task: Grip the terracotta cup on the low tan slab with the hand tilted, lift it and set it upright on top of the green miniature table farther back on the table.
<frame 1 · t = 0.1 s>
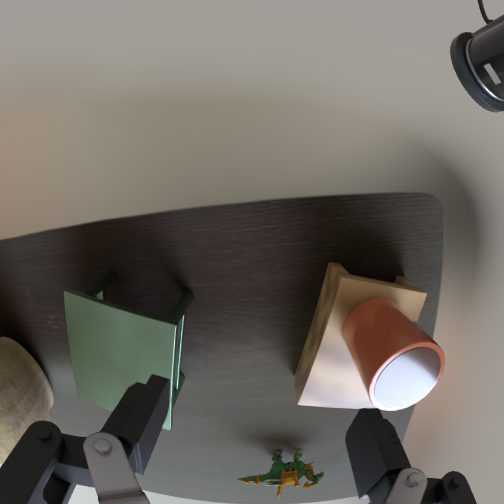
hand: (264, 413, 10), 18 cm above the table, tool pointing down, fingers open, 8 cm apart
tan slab: (349, 330, 29), on the table
green miniature table: (146, 330, 30), on the table
figurine: (280, 453, 34), on the table
vase: (28, 369, 34), on the table
cup: (373, 327, 23), point 5 cm above the table, touching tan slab
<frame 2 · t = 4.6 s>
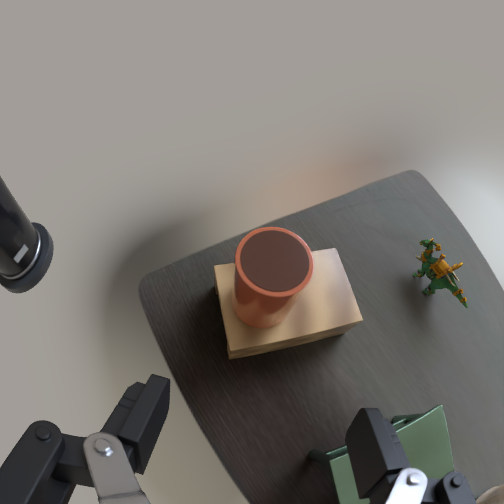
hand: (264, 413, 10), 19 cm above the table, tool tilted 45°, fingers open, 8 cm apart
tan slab: (280, 310, 33), on the table
green miniature table: (365, 469, 23), on the table
figurine: (426, 288, 37), on the table
cup: (261, 299, 28), point 5 cm above the table, touching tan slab
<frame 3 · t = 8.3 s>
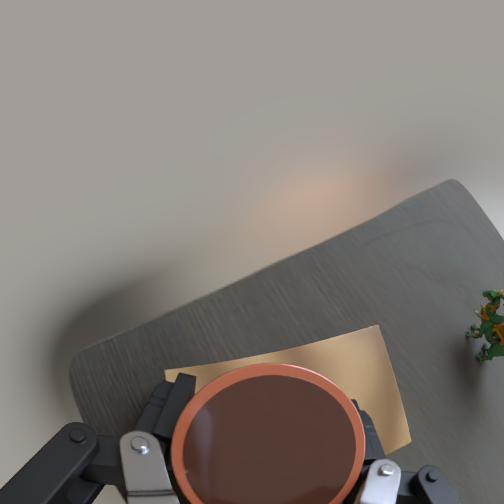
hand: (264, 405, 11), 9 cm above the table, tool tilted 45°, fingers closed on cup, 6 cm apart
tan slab: (282, 418, 18), on the table
figurine: (479, 351, 22), on the table
cup: (248, 433, 13), point 5 cm above the table, touching gripper, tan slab
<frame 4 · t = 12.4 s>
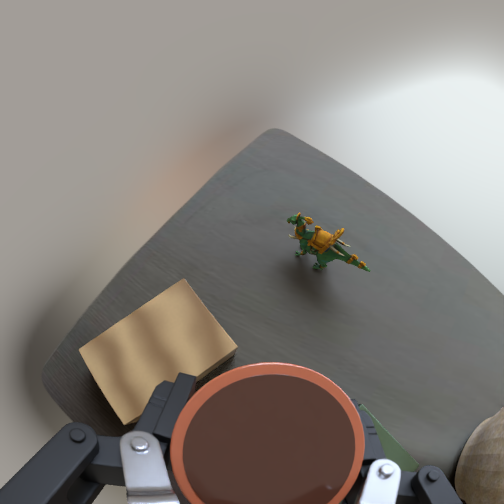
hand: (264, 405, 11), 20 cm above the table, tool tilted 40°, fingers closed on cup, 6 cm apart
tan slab: (162, 357, 30), on the table
green miniature table: (319, 469, 25), on the table
figurine: (317, 262, 38), on the table
vase: (476, 459, 24), on the table
cup: (248, 433, 13), point 16 cm above the table, touching gripper
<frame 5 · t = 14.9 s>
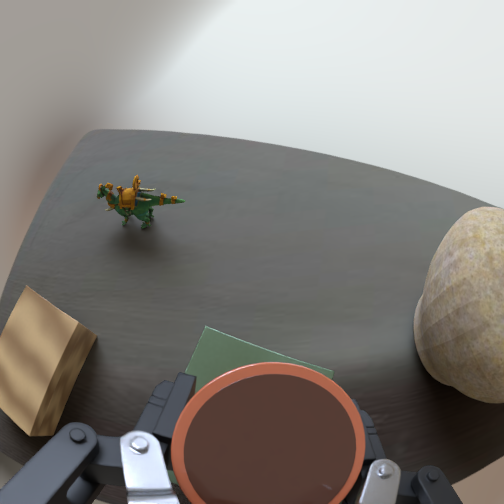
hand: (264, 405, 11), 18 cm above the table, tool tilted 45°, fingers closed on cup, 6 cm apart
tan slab: (45, 367, 24), on the table
green miniature table: (236, 421, 25), on the table
figurine: (145, 221, 36), on the table
vase: (444, 337, 31), on the table
cup: (248, 433, 13), point 13 cm above the table, touching gripper
when the fingers open (12 cm above the table, at t = 16.9 s): cup stays where it is, resting on green miniature table.
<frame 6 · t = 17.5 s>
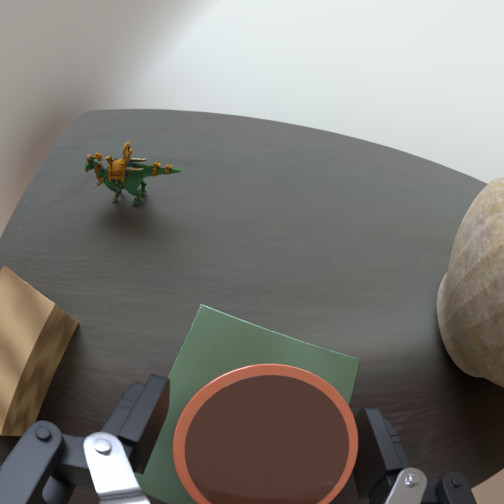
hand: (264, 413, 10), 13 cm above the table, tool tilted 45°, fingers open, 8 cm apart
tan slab: (23, 358, 20), on the table
green miniature table: (239, 424, 21), on the table
figurine: (137, 198, 32), on the table
vase: (467, 324, 27), on the table
cup: (247, 431, 14), point 8 cm above the table, touching green miniature table
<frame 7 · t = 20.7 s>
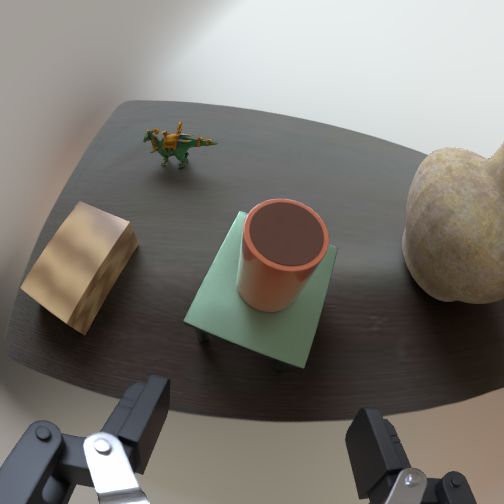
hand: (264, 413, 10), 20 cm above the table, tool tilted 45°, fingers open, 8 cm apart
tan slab: (86, 274, 33), on the table
green miniature table: (258, 310, 33), on the table
figurine: (181, 164, 44), on the table
vase: (431, 264, 39), on the table
cup: (269, 281, 26), point 8 cm above the table, touching green miniature table
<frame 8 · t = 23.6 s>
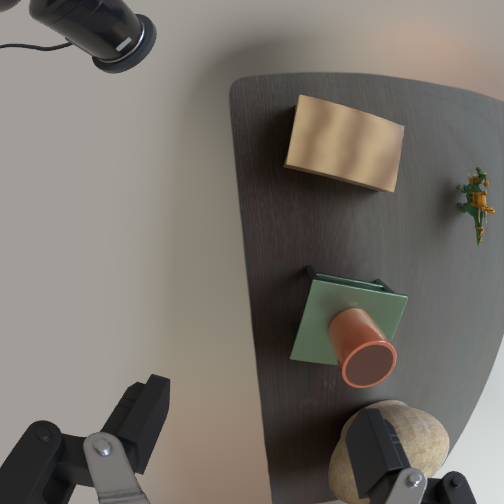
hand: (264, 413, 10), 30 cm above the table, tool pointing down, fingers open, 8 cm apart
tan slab: (339, 147, 36), on the table
green miniature table: (336, 304, 41), on the table
figurine: (462, 204, 36), on the table
vase: (373, 419, 46), on the table
cup: (350, 329, 33), point 8 cm above the table, touching green miniature table
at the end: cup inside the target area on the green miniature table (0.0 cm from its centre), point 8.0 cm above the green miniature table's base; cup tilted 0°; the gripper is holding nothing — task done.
